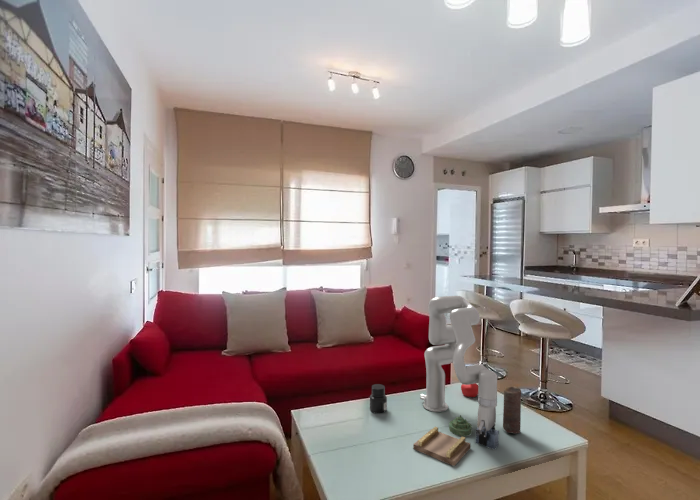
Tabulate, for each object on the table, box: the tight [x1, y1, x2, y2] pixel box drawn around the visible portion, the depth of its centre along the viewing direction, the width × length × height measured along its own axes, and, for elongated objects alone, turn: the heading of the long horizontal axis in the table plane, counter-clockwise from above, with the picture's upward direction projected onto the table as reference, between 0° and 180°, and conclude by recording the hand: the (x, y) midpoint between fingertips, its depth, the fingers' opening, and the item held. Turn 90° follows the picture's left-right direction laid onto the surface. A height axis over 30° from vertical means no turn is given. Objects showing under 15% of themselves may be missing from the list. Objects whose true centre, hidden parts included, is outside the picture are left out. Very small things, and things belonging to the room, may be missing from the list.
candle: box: [502, 386, 522, 435], centre depth 165 cm, size 8×7×20 cm
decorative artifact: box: [448, 415, 473, 437], centre depth 167 cm, size 10×7×10 cm
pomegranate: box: [460, 383, 478, 398], centre depth 205 cm, size 10×10×9 cm
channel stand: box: [412, 426, 472, 467], centre depth 152 cm, size 18×16×4 cm
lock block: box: [475, 427, 500, 451], centre depth 156 cm, size 8×5×6 cm, turn 50°
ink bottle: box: [369, 383, 388, 414], centre depth 187 cm, size 10×9×12 cm
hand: (487, 440), depth 156 cm, fingers open, 9 cm apart
